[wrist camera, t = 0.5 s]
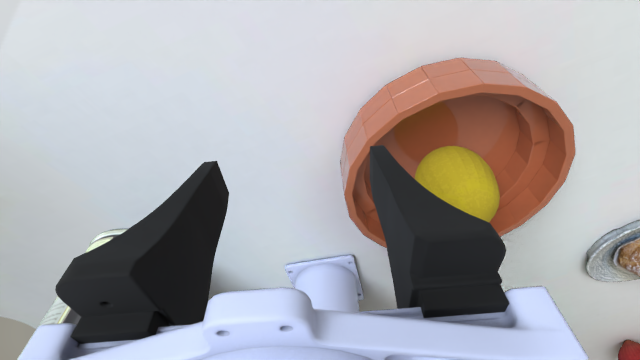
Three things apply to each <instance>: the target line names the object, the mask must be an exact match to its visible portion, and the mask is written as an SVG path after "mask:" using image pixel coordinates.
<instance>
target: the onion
mask: <svg viewBox="0 0 640 360" xmlns="http://www.w3.org/2000/svg"><path fill="white" fill-rule="evenodd" d="M618 360H640V344H639V343H636V342H634V341H631V340H626V341H625V342H624V343H623V345H622V347H621V348H620V350H619V354H618Z"/></svg>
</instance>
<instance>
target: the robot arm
mask: <svg viewBox="0 0 640 360" xmlns="http://www.w3.org/2000/svg"><path fill="white" fill-rule="evenodd" d="M370 185H371V191H372V197H373V201H374V204H375V207H376V211H377V214H378V217H379V221H380V224H381V227H382V230H383V234H384V237H385V241H386V245H387V251H388V256H389V261H390V267H391V272H392V278H393V284H394V290H395V296H396V302H397V308H398V309H389V310H375V311H362V312H360V311H359V303H358V300H363V299H364V295H363V291H362V287H361V283H360V279H359V275H358V272H357V268H356V264H355V260H354V257H353V256H352V255H346V256H339V257H333V258H327V259H320V260H314V261H308V262H302V263H295V264H289V265H286V266H285V271H286V273H287V275H288V277H289V279H290V281H291V283H292V285H293V287H294V288H286V287H280V288H268V289H255V290H243V291H230V292H224V293H220V294H216V295H215V296H213V297H212V298H211V299H210V300H209V301H208V297H209V289H210V281H211V274H212V268H213V261H214V256H215V252H216V248H217V244H218V241H219V237H220V234H221V230H222V227H223V223H224V219H225V216H226V212H227V205H228V197H229V192H228V189H227V187H226V184H225V181H224V179H223V176H222V174H221V171H220V168H219V166H218V163H217V161H212V162H204V163H203V164H202V165H201V166H200V167H199V168H198V169H197V170H196V171H195V172H194V173H193V174H192V175H191V176H190V177H189V178H188V179H187V180H186V181H185V182H184V183H183V184H182V185H181V186H180V187H179V189H178V190H176V191H175V192H174V193H173V194H172V195H171V196H170V197H169V198H168V199H167V200H166V201H165V202H164V203H163V204H161V205H160V206H159V207H158V208H157V209H156V210H154V211H153V212H152V213H150V214H149V215H148V216H147V217H145V218H144V219H143V220H141V221H140V222H138V223H137V224H135V225H134V226H132V227H131V228H129V229H128V230H126V231H125V232H123V233H122V234H120V235H118V236H117V237H115V238H113V239H111V240H110V241H108V242H106V243H104V244H102V245H101V246H99V247H97V248H95V249H93V250H91V251H89V252H87V253H84V254H82V255H80V256H78V257H76V258H74V259H73V261H72V262H71V264H70V265H69V267H68V268H67V270H66V271H65V273H64V274H63V276H62V278H61V279H60V281H59V282H58V284H57V285H56V293H57V295H58V297H59V298H60V299H61V300H62V301H63V302H64V303H65V304H66V305H67V306H69V307H70V308H71V309H72V310H73V311H75V312H76V313H77V314H78V315H79V316H81V318H80V320H79V322H78V324H77V325H75V324H71V323H60V324H47V325H40V326H39V327H38V328H37V330H36V331H35V333H34V335H33V336H32V338H31V339H30V341H29V342H28V344H27V346H26V347H25V349H24V350H23V352H22V354H21V355H20V357H19V358H18V360H588V358H589V357H588V356H587V354H586V352H585V351H584V349H583V348H582V346H581V344H580V343H579V341H578V339H577V338H576V336H575V335H574V333H573V331H572V330H571V328H570V327H569V325H568V323H567V322H566V320H565V318H564V317H563V315H562V314H561V312H560V310H559V309H558V307H557V306H556V304H555V302H554V301H553V299H552V297H551V296H550V294H549V293H548V291H547V289H546V288H545V287H543V286H536V287H523V288H513V289H509V290H507V291H506V292H505V293H504V291H503V289H502V287H501V285H500V284H501V283H502V279H501V277H500V275H499V273H498V270H499V267H500V265H501V263H502V261H503V259H504V256H505V252H506V248H505V245H504V243H503V241H502V240H501V238H500V236H499V235H498V233H497V232H496V230H495V229H494V228H493V227H492V225H491V224H490V223H489V222H487V221H485V220H482V219H480V218H477V217H475V216H472V215H470V214H468V213H466V212H464V211H462V210H460V209H458V208H456V207H454V206H452V205H450V204H449V203H447V202H445V201H444V200H442V199H440V198H439V197H437V196H436V195H434V194H433V193H431V192H430V191H429V190H427V189H426V188H425V187H423V186H422V185H421V184H420V183H419V182H417V181H416V180H415V179H414V178H413V177H412V176H411V175H410V174H409V173H408V172H407V171H406V170H405V169H404V168H403V167H402V166H401V165H400V164H399V163H398V162H397V161H396V159H395V158H394V157H393V156H392V155H391V154H390V152H389V151H388V150H387V149H386V147H385V146H384V145H378V146H370Z"/></svg>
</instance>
